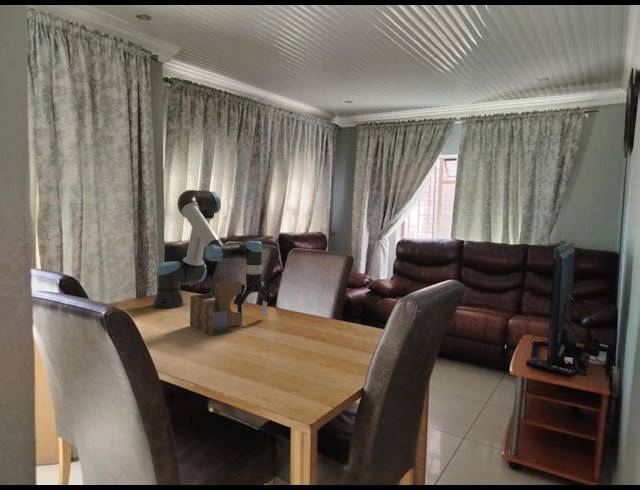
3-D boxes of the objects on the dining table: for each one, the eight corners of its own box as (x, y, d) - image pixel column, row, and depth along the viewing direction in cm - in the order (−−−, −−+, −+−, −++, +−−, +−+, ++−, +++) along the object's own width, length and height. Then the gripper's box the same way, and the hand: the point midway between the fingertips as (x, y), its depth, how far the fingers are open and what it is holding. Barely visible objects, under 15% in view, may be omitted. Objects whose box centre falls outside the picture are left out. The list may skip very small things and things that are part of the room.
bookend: (207, 333, 180) (207, 312, 179) (226, 329, 186) (226, 309, 185) (212, 335, 176) (213, 315, 175) (231, 332, 182) (232, 312, 181)
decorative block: (238, 321, 197) (237, 280, 195) (242, 325, 192) (241, 282, 190) (215, 325, 191) (214, 283, 189) (219, 328, 186) (218, 285, 184)
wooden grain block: (190, 325, 189) (190, 295, 188) (211, 322, 196) (211, 293, 195) (209, 336, 175) (210, 303, 174) (231, 332, 182) (231, 300, 181)
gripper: (235, 276, 187) (234, 322, 189) (279, 272, 204) (278, 314, 206) (226, 274, 193) (226, 318, 194) (270, 270, 210) (269, 311, 211)
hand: (252, 316), depth 200 cm, fingers open, 13 cm apart
